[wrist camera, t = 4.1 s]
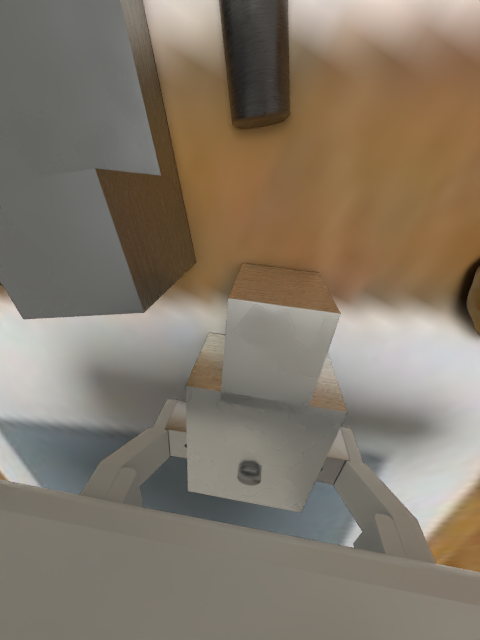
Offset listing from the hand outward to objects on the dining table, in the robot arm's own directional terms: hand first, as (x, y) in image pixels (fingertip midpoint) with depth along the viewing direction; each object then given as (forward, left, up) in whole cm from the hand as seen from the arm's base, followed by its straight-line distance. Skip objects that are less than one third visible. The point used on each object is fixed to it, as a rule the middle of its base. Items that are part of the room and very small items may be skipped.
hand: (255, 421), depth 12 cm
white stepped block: (+2, 0, -2) cm, 2 cm away
